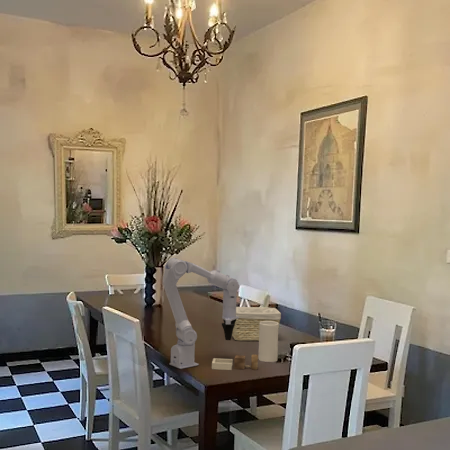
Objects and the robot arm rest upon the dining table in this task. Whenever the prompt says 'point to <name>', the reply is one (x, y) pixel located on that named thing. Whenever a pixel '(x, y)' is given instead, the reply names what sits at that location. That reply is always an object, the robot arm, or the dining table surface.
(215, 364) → the small tray
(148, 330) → the dining table surface
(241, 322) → the storage basket
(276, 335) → the cup
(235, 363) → the tan rounded-end part
